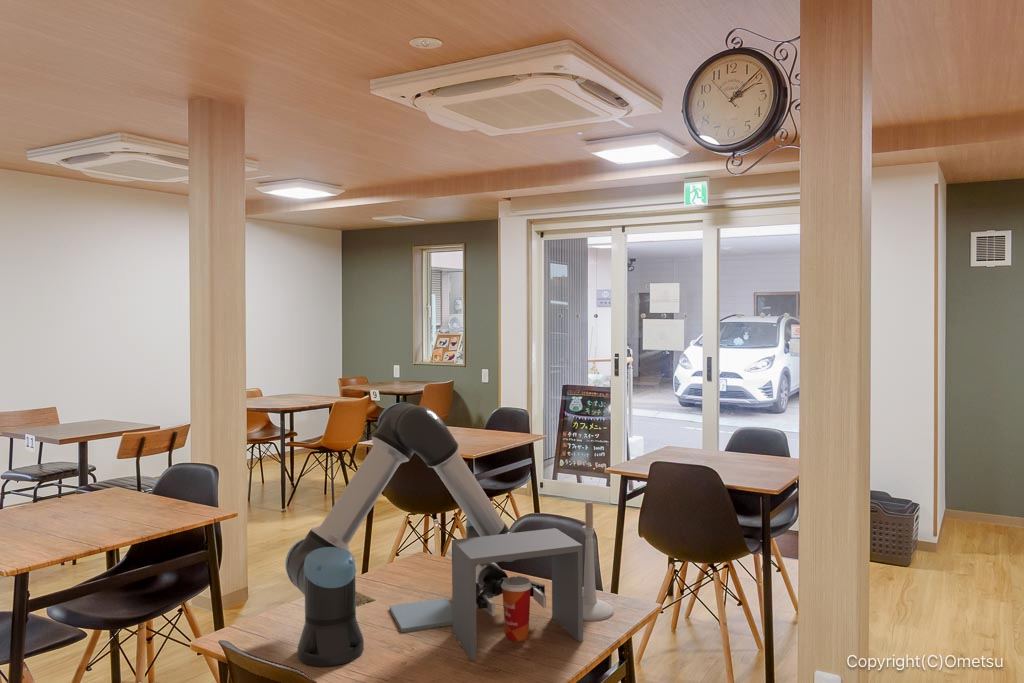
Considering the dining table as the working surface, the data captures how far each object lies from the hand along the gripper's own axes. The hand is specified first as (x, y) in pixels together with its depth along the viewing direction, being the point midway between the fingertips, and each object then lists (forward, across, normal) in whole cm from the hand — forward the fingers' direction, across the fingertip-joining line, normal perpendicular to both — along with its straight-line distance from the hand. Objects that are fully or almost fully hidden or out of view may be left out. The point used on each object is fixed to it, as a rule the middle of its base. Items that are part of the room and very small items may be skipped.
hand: (519, 606), depth 180 cm
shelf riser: (-1, 0, -8) cm, 8 cm away
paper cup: (-1, 0, -8) cm, 8 cm away
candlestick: (-9, -24, -8) cm, 26 cm away
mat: (-22, +18, -8) cm, 30 cm away
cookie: (-41, +36, -9) cm, 55 cm away
